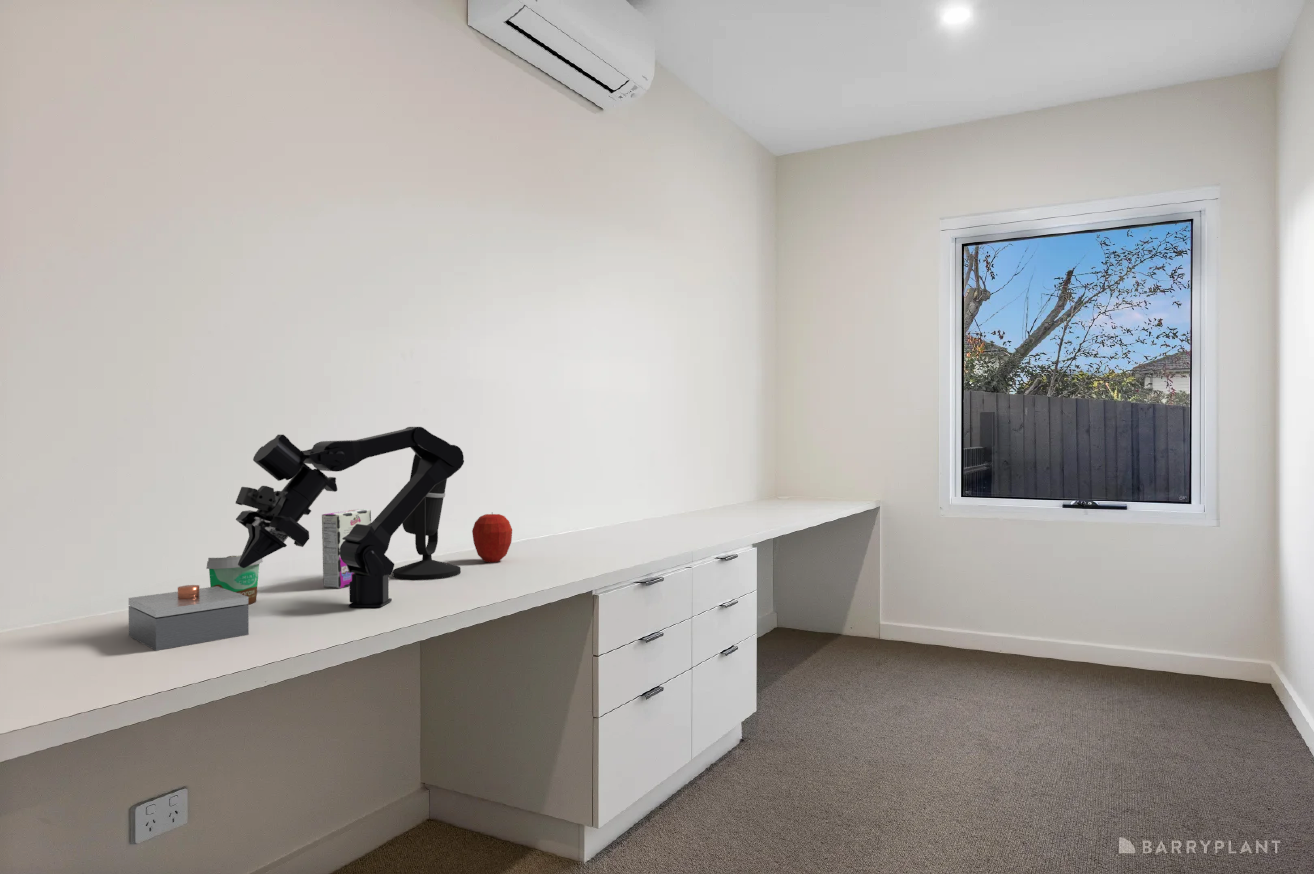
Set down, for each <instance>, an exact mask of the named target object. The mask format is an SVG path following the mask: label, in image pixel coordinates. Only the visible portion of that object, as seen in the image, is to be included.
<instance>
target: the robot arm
mask: <svg viewBox="0 0 1314 874" xmlns="http://www.w3.org/2000/svg"><path fill="white" fill-rule="evenodd" d="M408 448H409V449H411V450H412V451H413V453H414V454H415V453H416V455H417V456H419V457H420V458H421V460H420V462H419V466H418V470H417V472H416V474H415V475H414V476H413V477H412V478H411V479H410V478H409V480H408V482H407V483H406V484H404V486H403V487H402V488H401V489H400V490H399V492H398V493H397V494H396V495H395V496H394V497H393V498H392V499H391V501H389V503H388V504H387V505H386V506H385V507H384V508H383V509H382V511H381V512H379V514H378V515H377V516H376V518H375V519H373V521H371V523H370V524H368V525H362V524H356V525H355V526H354V527H353V529H352V530H351V532H350V533H349V534H348V535H347V536H345V537H343V538H342V539H343V540H345V541H344V542H343V543H342V545H341V546H340V557H341V559H342V561H343V562H344V563H345V564H346V565H347V567H348V570H349V572H351V573H352V572H353V573H354V574H352V581H351V582H350V583H349V586H348V587H349V591H348V592H349V594H348V595H349V604H347V605H348V608H382V607H383V606H385V605H387V604H389V603H391V602H392V600H393V599H392V598H389V592H390V591H389V589H390V588H389V581H390V580H389V575H393V570H394V569H395V568H394V567H395V563H394V562H393V561H392V560H391V559H390V558H389V557H388V556H387V555H386V553H387V551H388V549H389V546H390V542H391V538H392V537H393V535H394V533H396V532H397V530H398V529H399V528H400V527H401V526H402V523H403V522H404V521H405V520H406V518H407V517H408V516H409V515H410V514H411V513H412V512H413V510H414V509H415V508H416V507H417V506H418V505H419V504H420V502H421V501H422V500H423V499H424V498H425V497H426V495H427V494H428V493H429V492H430V491H431V490H432V489H433V487H434V486H435V485H437V484H438V483H440V482H442V481H444V480H445V479H447V480H448V479H449V478H451V477H452V476H454V475H455V474H456V473H457V472H458V471H459V470H460V469H461V468H462V466H463V465H464V463H465V460H464V459H465V457H464V452H463V451H462V449H461V447H459V446H457V445H455V444H450V443H449V442H448V441H446V440H444V439H443V438H440V437H438V436H436V435H434V434H433V433H431V432H430V431H429V430H427V429H426V428H425V427H422V426H407V427H405V428H403V429H399V430H394V431H390V432H385V433H381V434H377V435H373V436H372V435H371V436H369V437H368V436H367V437H364V438H363V437H362V438H358V439H353V440H352V439H351V440H347V439H346V440H322V441H319V442H316V443H315V444H314V445H313V446H312V448H310V449H306V450H301V449H300V448H298V447H297V446H296V445H295V443H294V444H293V443H292V442H291V440H290V439H289V438H288V437H287V436H286V435H285V434H277V435H276V436H275V437H274V438H273V439H271V440H270V441H268V442H267V443H266V444H264V445H262V446H260V448H259V449H258V450H256V453H255V454H254V456H253V458H252V460H253V462H254V463H255V464H256V465H258V466H259V467H260V468H261V469H262V470H264V471H265V472H267V473H268V474H269V475H270V476H271V477H273V478H274V479H275V480H277V481H278V482H280V481H283V480H285V481H288V482H287V484H286V485H285V486H284V487H283V489H281V490H275V488H273V487H272V486H268V485H261V486H260V487H259V488H257V489H256V488H253V487H248V486H241V488H240V490H239V493H238V496H237V498H236V500H235V504H236V505H238V506H247V507H250V508H252V509H257V510H249V509H248V510H242V511H241V512H240V513H239V515H238V516H237V517H236V518H235V520H236V521H237V522H238V523H239V524H241V525H242V526H243V527H244V528H246V529H247V531H248V538H247V541H246V544H245V547H244V548H243V551H242V554H241V558H240V560H239V562H238V566H240V567H241V568H245V567H247V566H249V565H251V564H253V563H255V562H256V561H258V560H260V559H262V560H263V559H264V558H266V557H268V556H269V555H271V554H273V553H276V552H277V551H279V550H281V549H283V548H286V547H287V546H288V545H287V544H286V543H285V542H286V541H287V539H288V538H289V539H291V540H293V541H294V542H293V544H294V546H297V547H300V548H303V547H304V546H305V545H306V543H307V542H308V541H309V540H310V531H309V530H308V529H306V528H305V527H304V526H303V525H301V524H300V523H299V521H300V520H301V518H302V517H303V516H304V515H306V516H309V515H310V513H311V512H312V510H311V508H310V507H311V506H312V505H313V504H314V502H315V501H316V500H317V498H318V497H319V496H320V495H321V494H322V492H323V491H324V490H325V491H326V492H334V493H335V492H337V491H338V485H337V483H336V482H337V481H336V480H337V478H336V477H334V476H327V475H326V474H325V473H324V472H342V471H345V470H346V469H349V468H351V467H354V466H356V465H357V464H359V463H360V462H362V461H363V460H366V459H368V458H372V457H376V456H380V455H384V454H388V453H393V452H396V451H400V450H404V449H408ZM308 464H309V465H312V466H313V467H314V468H313V469H312V468H311V467H310V466H309V465H308ZM322 471H323V472H322Z"/></svg>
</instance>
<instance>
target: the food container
mask: <svg viewBox="0 0 1314 874" xmlns="http://www.w3.org/2000/svg"><path fill="white" fill-rule="evenodd" d="M241 555H242V554H241ZM241 555H229V556H226V557H224V556H223V557H208V561H207V563H206V570H207V569H208V573H209V583H210V587H216V586H218V587H221V588H224V589H227V590H230V591H233V592H236V593H239V594H242V595H245V596H248V604H247V605H248V606H249V605H252V604H255V603H256V602H257V598H258V597H257V594H258V585H259V583H258V582H259V573H260V572H259V570H260V564H262V563H263V562H264V560H263V558H262V559H260V560H258V561H256V562H255V563H253V564H251V565H249V566H247V567H245V568H241V567H240V566H238V562H239V560H240V558H241Z"/></svg>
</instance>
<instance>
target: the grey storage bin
mask: <svg viewBox="0 0 1314 874" xmlns="http://www.w3.org/2000/svg"><path fill="white" fill-rule="evenodd" d="M249 626H250V624H249V605H247V604H244V605H237V606H230V607H224V608H217V609H210V610H204V611H197V612H190V613H184V614H177V615H170V616H164V617H157V618H155V617H153V616H151V615H149V614H147V613H145V612H142V611H140V610H138V609H136V608H134V607H132V606H130V605H128V637H130V638H132V639H134V640H136V641H137V642H140V643H141V644H143V645H145V646H147V647H148V648H151V649H152V650H154V651H156V652H157V651H162V650H167V649H174V648H179V647H184V646H191V645H196V644H202V643H207V642H212V641H219V640H225V639H230V638H236V637H242V636H247V635H249V629H250V627H249Z"/></svg>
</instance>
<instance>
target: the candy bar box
mask: <svg viewBox="0 0 1314 874" xmlns="http://www.w3.org/2000/svg"><path fill="white" fill-rule="evenodd" d="M371 511H372V510H371V509H364V508H363V509H359V508H357V509H351V510H350V509H349V510H343V511H337V512H335V511H334V512H330V513H324V514H321V535H322V536H321V539H322V540H321V541H322V543H321V545H322V582H323V585H322V586H323V588H327V589H342V588H347V587H349V583H350V582H351V581H352V574H354V573H353V572H352V573H351V572H349V570H348V567H347V565H346V564H345V563H344V562H343V561H342V559H341V557H340V546H341V545H342V543H343V542H344V541H345V540H343V539H342V538H343V537H345V536H347V535H348V534H349V533H350V532H351V530H352V529H353V527H354V526H355V525H356V524H362V525H368V524H370V523H372V515H371V514H372V512H371Z"/></svg>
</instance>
